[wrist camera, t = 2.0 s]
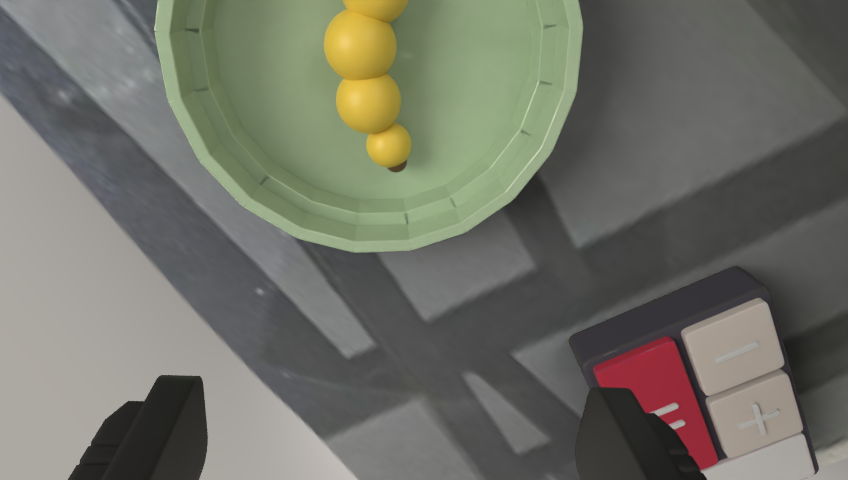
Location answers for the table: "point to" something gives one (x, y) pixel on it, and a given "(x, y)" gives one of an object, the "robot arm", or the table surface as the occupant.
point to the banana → (369, 77)
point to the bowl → (346, 148)
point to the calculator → (709, 376)
